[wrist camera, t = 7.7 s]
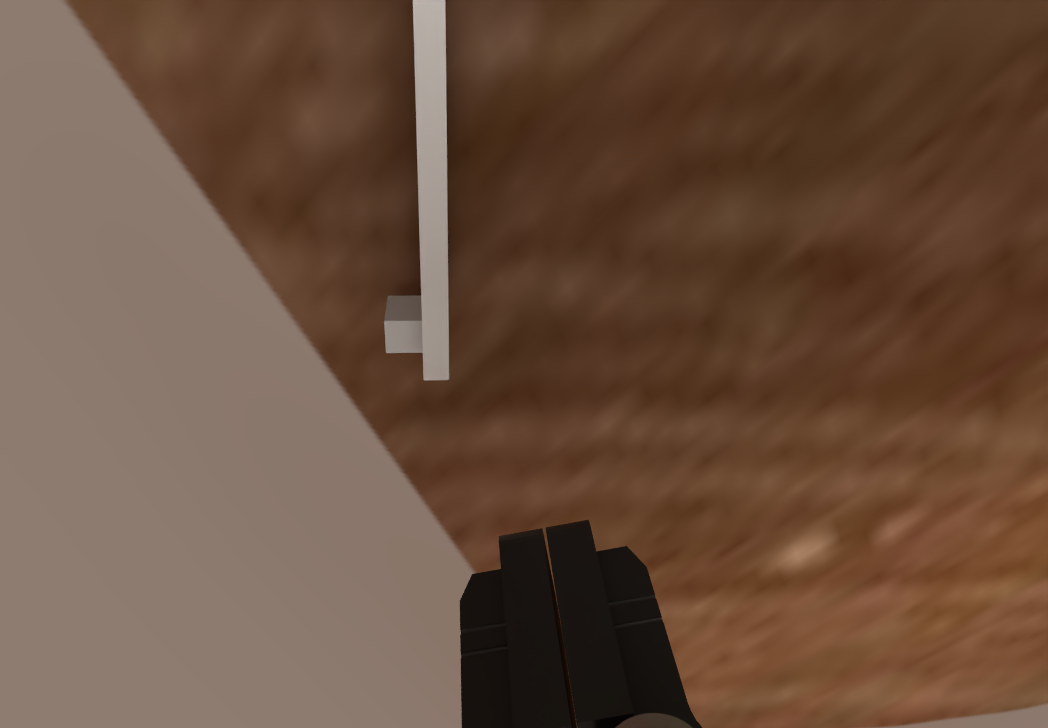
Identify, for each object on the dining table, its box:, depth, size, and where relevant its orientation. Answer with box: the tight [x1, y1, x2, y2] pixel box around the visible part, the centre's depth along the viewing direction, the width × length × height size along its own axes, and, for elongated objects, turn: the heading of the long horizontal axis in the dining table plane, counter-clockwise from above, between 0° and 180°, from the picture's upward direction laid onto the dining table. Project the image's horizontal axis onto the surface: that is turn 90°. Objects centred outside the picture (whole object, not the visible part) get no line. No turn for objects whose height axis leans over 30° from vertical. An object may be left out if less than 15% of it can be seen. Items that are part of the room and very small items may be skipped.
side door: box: [384, 0, 449, 380], centre depth 24 cm, size 14×2×6 cm, turn 178°
